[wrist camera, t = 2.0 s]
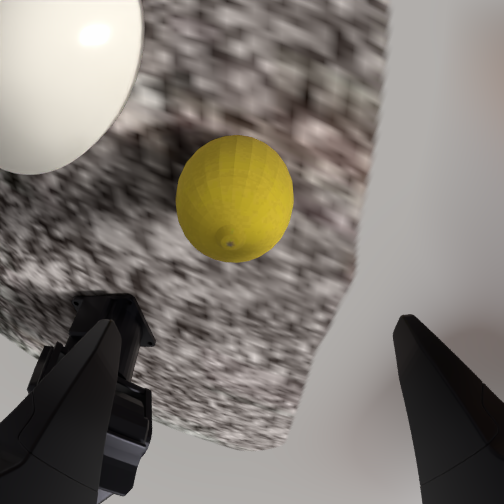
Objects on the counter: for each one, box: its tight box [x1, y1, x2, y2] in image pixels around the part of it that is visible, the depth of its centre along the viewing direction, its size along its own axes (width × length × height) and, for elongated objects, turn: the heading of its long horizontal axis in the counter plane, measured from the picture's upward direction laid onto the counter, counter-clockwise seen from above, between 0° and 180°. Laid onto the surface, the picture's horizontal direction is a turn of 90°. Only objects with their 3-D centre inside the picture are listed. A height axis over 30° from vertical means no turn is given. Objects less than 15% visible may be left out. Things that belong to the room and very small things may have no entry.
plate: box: [0, 0, 145, 175], centre depth 13 cm, size 16×16×1 cm
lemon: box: [176, 135, 294, 263], centre depth 15 cm, size 6×6×8 cm
